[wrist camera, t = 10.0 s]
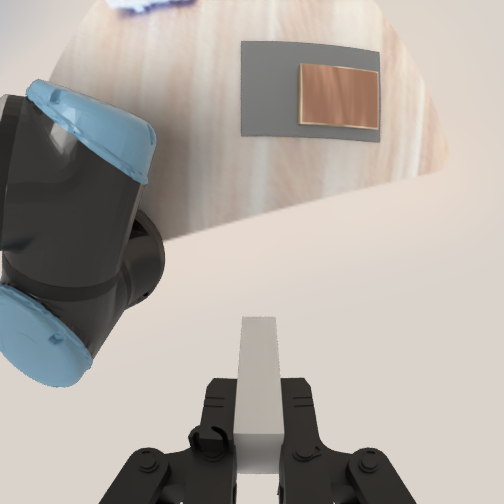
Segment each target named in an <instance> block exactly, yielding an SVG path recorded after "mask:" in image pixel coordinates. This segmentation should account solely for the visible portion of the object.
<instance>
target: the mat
mask: <svg viewBox="0 0 504 504" xmlns="http://www.w3.org/2000/svg"><path fill="white" fill-rule="evenodd" d="M300 63H305V64H319V65H330V66H339V67H348V68H355V69H363V70H369V71H376V72H378V93H379V109H378V130H368V129H358V128H347V127H335V126H320V125H301V124H297V68H298V66H299V65H300ZM380 112H381V91H380V56H379V52H375V51H369V50H363V49H357V48H350V47H342V46H334V45H324V44H313V43H299V42H278V41H241V136H292V137H316V138H333V139H346V140H358V141H369V142H379V143H380Z"/></svg>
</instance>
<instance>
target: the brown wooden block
mask: <svg viewBox="0 0 504 504" xmlns="http://www.w3.org/2000/svg"><path fill="white" fill-rule="evenodd" d="M378 109H379V93H378V72H376V71H369V70H363V69H355V68H348V67H339V66H330V65H319V64H305V63H300V65H299V66H298V68H297V124H301V125H320V126H335V127H347V128H358V129H368V130H378Z"/></svg>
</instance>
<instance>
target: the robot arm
mask: <svg viewBox="0 0 504 504" xmlns="http://www.w3.org/2000/svg"><path fill="white" fill-rule="evenodd" d="M26 95H27V96H25V97H23V96H16V95H8V94H5V95H3V96H2V97H1V98H0V251H2V277H1V280H0V351H1V352H2V353H3V355H4V356H5V357H6V358H7V359H8V360H9V361H10V362H11V363H12V364H13V365H14V366H15V367H16V368H18V369H19V370H20V371H21V372H23V373H24V374H25V375H27V376H28V377H30V378H32V379H33V380H35V381H37V382H40V383H42V384H44V385H47V386H51V387H69V386H72V385H74V384H75V383H77V382H78V381H79V380H80V378H81V377H82V375H83V374H84V372H85V371H86V370H88V369H90V368H91V365H92V363H93V359H94V358H95V356H96V354H97V353H98V351H99V349H100V348H101V346H102V345H103V343H104V342H105V340H106V338H107V337H108V335H109V334H110V332H111V330H112V329H113V327H114V326H115V324H116V323H117V321H118V320H119V318H120V317H121V315H122V313H123V312H124V310H126V309H128V308H129V307H132V306H134V305H136V304H138V303H140V302H141V301H143V300H144V299H146V298H147V297H148V296H149V295H150V294H151V293H152V292H153V290H154V289H155V287H156V286H157V284H158V283H159V281H160V279H161V277H162V274H163V271H164V266H165V251H164V246H163V242H162V239H161V237H160V234H159V232H158V230H157V229H156V227H155V226H154V224H153V223H152V222H151V220H150V219H149V218H148V217H147V216H146V215H145V214H144V213H143V212H141V211H140V210H139V209H137V208H138V205H139V202H140V199H141V195H142V192H143V189H144V186H145V185H147V183H148V177H147V175H148V171H149V168H150V164H151V161H152V157H153V154H154V151H155V147H156V142H157V139H156V134H155V131H154V129H153V128H152V126H151V125H150V124H149V123H148V122H146V121H145V120H143V119H141V118H139V117H137V116H135V115H133V114H131V113H128V112H126V111H124V110H122V109H119V108H117V107H115V106H112V105H110V104H107V103H105V102H102V101H100V100H98V99H95V98H93V97H90V96H87V95H85V94H82V93H80V92H77V91H74V90H71V89H68V88H66V87H62V86H59V85H56V84H53V83H50V82H47V81H44V80H39V79H38V80H35V81H33V82H32V84H31V85H30V87H28V88H27V90H26ZM240 342H241V343H240V354H239V367H238V379H227V378H214V379H213V380H212V381H211V382H210V383H209V385H208V386H207V389H206V395H205V400H204V407H203V412H202V417H201V423H200V425H199V426H196V427H195V428H194V429H193V430H192V431H191V432H190V434H189V436H188V439H189V442H190V446H191V447H190V448H188V449H186V450H184V451H180V452H175V453H169V454H164V453H163V452H161V451H159V450H158V449H155V448H141V449H139V450H137V451H135V452H134V453H133V454H132V455H131V456H130V457H129V459H128V460H127V462H126V463H125V465H124V466H123V468H122V469H121V471H120V472H119V474H118V475H117V477H116V478H115V480H114V481H113V483H112V484H111V486H110V487H109V489H108V490H107V492H106V493H105V495H104V496H103V498H102V499H101V501H100V502H99V504H180V502H183V504H236V495H237V483H236V479H237V473H240V474H241V473H242V474H279V487H278V493H277V495H279V504H333V502H334V503H335V504H416V502H415V500H414V499H413V497H412V496H411V494H410V492H409V491H408V489H407V488H406V486H405V485H404V483H403V482H402V480H401V478H400V477H399V475H398V474H397V472H396V470H395V469H394V467H393V466H392V464H391V463H390V461H389V459H388V458H387V456H386V455H385V454H384V453H383V452H382V451H380V450H378V449H375V448H362V449H359V450H358V451H356V452H354V453H353V454H349V453H342V452H337V451H334V450H331V449H329V448H327V447H326V446H325V445H324V444H323V443H322V441H321V440H320V437H319V433H318V427H317V421H316V415H315V409H314V404H313V399H312V392H311V387H310V385H309V384H308V383H307V381H306V380H305V379H304V378H280V368H279V356H278V343H277V331H276V320H275V317H242V329H241V341H240Z"/></svg>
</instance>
